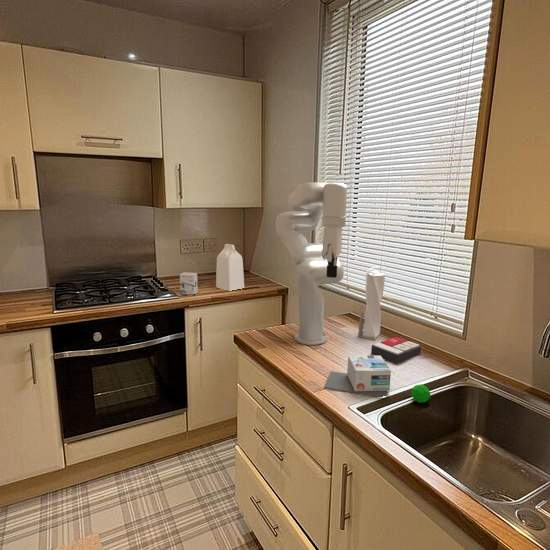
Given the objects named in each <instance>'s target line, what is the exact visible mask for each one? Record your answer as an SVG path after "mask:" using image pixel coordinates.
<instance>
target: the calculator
mask: <svg viewBox="0 0 550 550" xmlns="http://www.w3.org/2000/svg"><path fill="white" fill-rule="evenodd" d="M421 351H422V346H421V345H420V344H418V343H415V342H413V341H408V340H407V339H404V338H401V337H397V336H394V337H392V338H388V339H385V340H382V341H380V342H377V343H375V344H372V345H371V351H370V355H371V356H381V357H382V358H383V360H384V361H387V362H389V363H391V362H392V363H391V364H395V365H399V364H401V363H403V362H405V361H406V360H409V359H412V358H414V357H416V356H418V355H420V354H421Z"/></svg>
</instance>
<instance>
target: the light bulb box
mask: <svg viewBox="0 0 550 550" xmlns="http://www.w3.org/2000/svg"><path fill="white" fill-rule="evenodd" d="M346 368H347V369H346V371H347V372H346V373H347V375H348V377H349V379H350V382H351V384H352V386H353V388H354V390H355V391H387V392H390V390H391V373H392V369H390V367H389V365H388V364H387V362H386V360H384V359H383V358H382V357H381V356H374V355H348V357H347V367H346Z"/></svg>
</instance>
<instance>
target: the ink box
mask: <svg viewBox="0 0 550 550" xmlns="http://www.w3.org/2000/svg"><path fill="white" fill-rule="evenodd" d="M198 288H199V287H198V273H197V272H185V271H184V272H182V273H180V274H179V291H180V292H179V293H187V294H196V293H197V292H198V291H199V290H198ZM196 295H197V294H196Z"/></svg>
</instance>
